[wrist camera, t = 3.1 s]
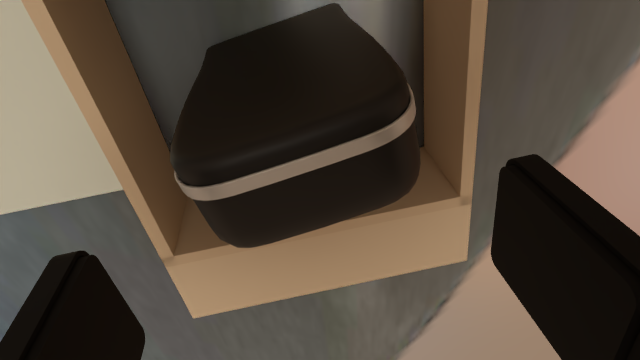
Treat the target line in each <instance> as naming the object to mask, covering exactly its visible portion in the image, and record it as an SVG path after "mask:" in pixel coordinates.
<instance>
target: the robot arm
mask: <svg viewBox="0 0 640 360" xmlns="http://www.w3.org/2000/svg"><path fill="white" fill-rule="evenodd" d="M491 257H492V260H493V263H494V265H495V266H496V268H497V269H498V270H499V272H500V273H501V275H502V276H503V278H504V279H505V281H506V282H507V284H508V285H509V286H510V288H511V289H512V291H513V292H514V293H515V295H516V296H517V297H518V299H519V300H520V302H521V303H522V305H523V306H524V307H525V309H526V310H527V312H528V313H529V314H530V315H531V317H532V319H533V320H534V321H535V323H536V324H537V326H538V327H539V328H540V330H541V331H542V333H543V334H544V335H545V337H546V338H547V340H548V341H549V343H550V344H551V345H552V347H553V348H554V349H555V351H556V352H557V354H558V355H559V356H560V358H561V359H562V360H640V236H639V235H637V234H636V233H635V232H634V231H632V230H631V229H630V228H629V227H627V226H626V225H625V224H624V223H622V222H621V221H620V220H619V219H617V218H616V217H615V216H614V215H612V214H611V213H610V212H609V211H607V210H606V209H605V208H604V207H602V206H601V205H600V204H599V203H597V202H596V201H595V200H594V199H593V198H591V197H590V196H589V195H588V194H586V193H585V192H584V191H582V190H581V189H580V188H579V187H578V186H576V185H575V184H574V183H573V182H571V181H570V180H569V179H568V178H566V177H565V176H564V175H563V174H561V173H560V172H559V171H558V170H556V169H555V168H554V167H553V166H551V165H550V164H549V163H548V162H546V161H545V160H544V159H543V158H541V157H540V156H538V155H536V154H532V155H528V156H523V157H518V158H513V159H510V160H508V162H507V163H506V167H503V168H501V170H500V173H499V182H498V192H497V201H496V210H495V219H494V228H493V237H492V246H491ZM144 344H145V333H144V330H143V328H142V326H141V325H140V323H139V321H138V320H137V318H136V317H135V315H134V314H133V312H132V311H131V309H130V307H129V306H128V304H127V303H126V301H125V300H124V298H123V297H122V295H121V294H120V292H119V290H118V289H117V287H116V286H115V284H114V283H113V281H112V280H111V278H110V276H109V275H108V273H107V272H106V270H105V269H104V267H103V266H102V264H101V262H100V261H99V259H98V258H97V257H96V256H94V255H89V254H88V253H87V252H85V251H76V252H71V253H67V254H62V255H57V256H55V257H53V258H52V259H51V260H50V261H49V263H48V265H47V266H46V268H45V269H44V271H43V273H42V274H41V276H40V278H39V279H38V281H37V283H36V284H35V286H34V288H33V289H32V291H31V293H30V294H29V296H28V297H27V299H26V301H25V302H24V304H23V306H22V307H21V309H20V311H19V312H18V314H17V316H16V317H15V319H14V321H13V322H12V324H11V326H10V327H9V329H8V330H7V332H6V334H5V335H4V337H3V339H2V340H1V342H0V360H141V356H142V352H143V349H144Z"/></svg>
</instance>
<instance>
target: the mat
mask: <svg viewBox="0 0 640 360" xmlns="http://www.w3.org/2000/svg"><path fill="white" fill-rule="evenodd" d="M119 190H124V189H123V188H122V186H121V184H120V182H119V180H118V178H117V176H116V175H115V173H114V171H113V169H112V167H111V165H110V164H109V162H108V160H107V158H106V156H105V154H104V152H103V151H102V149H101V147H100V145H99V143H98V141H97V140H96V138H95V136H94V134H93V132H92V130H91V128H90V127H89V125H88V123H87V121H86V119H85V117H84V116H83V114H82V112H81V110H80V108H79V106H78V104H77V103H76V101H75V99H74V97H73V95H72V93H71V92H70V90H69V88H68V86H67V84H66V82H65V80H64V79H63V77H62V75H61V73H60V71H59V69H58V68H57V66H56V64H55V62H54V60H53V58H52V56H51V55H50V53H49V51H48V49H47V47H46V45H45V44H44V42H43V40H42V38H41V36H40V34H39V32H38V31H37V29H36V27H35V25H34V23H33V21H32V20H31V18H30V16H29V14H28V12H27V10H26V8H25V7H24V5H23V3H22V1H21V0H0V215H1V214H6V213H11V212H15V211H20V210H25V209H30V208H35V207H40V206H45V205H50V204H55V203H60V202H65V201H70V200H75V199H80V198H84V197H89V196H94V195H99V194H104V193H109V192H114V191H119Z"/></svg>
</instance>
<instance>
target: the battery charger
mask: <svg viewBox="0 0 640 360" xmlns="http://www.w3.org/2000/svg"><path fill="white" fill-rule="evenodd" d="M415 115H416V106H415V100H414V95H413V92H412V90H411V88H410V86H409V84H408V83H407V81H406V78H405V76H404V73H403V71H402V70H401V69H400V67H399V66H398V65H397V63H396V62H395V61H394V60H393V59H392V57H391V56H390V55H389V54H388V53H387V52H386V50H385V49H384V48H383V47H382V46H381V45H380V44H379V43H378V42H377V41H376V40H375V39H374V38H373V37H372V36H371V35H369V34H368V33H367V32H366V31H365V30H364V29H363V28H361V27H360V26H359V25H358V24H356V23H355V22H354V21H352V20H351V19H350V18H349V17H348V16H347V14H346V13H345V12H344V11H343V9H342V8H341V6H340V5H339V4H336V3H333V4H329V5H326V6H323V7H320V8H317V9H315V10H312V11H309V12H306V13H303V14H300V15H297V16H294V17H292V18H289V19H286V20H283V21H280V22H277V23H275V24H272V25H269V26H266V27H263V28H260V29H258V30H255V31H252V32H249V33H247V34H244V35H241V36H238V37H235V38H233V39H230V40H227V41H224V42H222V43H219V44H216V45H213V46H211V47H209V48H208V49H207V51H206V55H205V59H204V61H203V65H202V67H201V70H200V72H199V74H198V76H197V78H196V80H195V82H194V85H193V87H192V89H191V91H190V93H189V95H188V98H187V100H186V102H185V105H184V107H183V110H182V112H181V115H180V118H179V121H178V124H177V127H176V130H175V133H174V136H173V140H172V143H171V149H170V162H171V165H172V167H173V169H174V176H175V179H176V182H177V183H178V185H179V186H180V188H181V189H182V191H183V192H184V193H185V194H186V195H187V196H188V197H190V198H191V199H193V201H194V202H195V204H196V205H197V207H198V209H199V210H200V212H201V213H202V215H203V216H204V218H205V220H206V221H207V223H208V224H209V226H210V227H211V229H212V230H213V231H214V233H215V234H216V235H217V236H218V237H219V239H220V240H222V241H224V242H226V243H228V244H230V245H233V246H235V247H237V248H253V247H258V246H263V245H267V244H271V243H274V242H278V241H281V240H284V239H287V238H291V237H294V236H297V235H301V234H304V233H307V232H310V231H314V230H317V229H320V228H324V227H327V226H330V225H333V224H335V223H338V222H341V221H344V220H347V219H350V218H353V217H356V216H359V215H362V214H365V213H368V212H371V211H374V210H377V209H380V208H382V207H385V206H387V205H389V204H392V203H394V202H396V201H398V200H399V199H400V198H402V197H403V196H405V195H406V194H408V193H409V192H410V190H411V189H412V188H413V186H414V185H415V183H416V181H417V178H418V176H419V171H420V164H421V162H420V148H419V142H418V137H417V131H416V126H415V120H414V118H415Z"/></svg>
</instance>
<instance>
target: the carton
mask: <svg viewBox="0 0 640 360" xmlns="http://www.w3.org/2000/svg"><path fill="white" fill-rule="evenodd" d="M21 1H22V3H23V5H24V7H25V8H26V10H27V12H28V14H29V16H30V18H31V20H32V21H33V23H34V25H35V27H36V29H37V31H38V32H39V34H40V36H41V38H42V40H43V42H44V44H45V45H46V47H47V49H48V51H49V53H50V55H51V56H52V58H53V60H54V62H55V64H56V66H57V68H58V69H59V71H60V73H61V75H62V77H63V79H64V80H65V82H66V84H67V86H68V88H69V90H70V92H71V93H72V95H73V97H74V99H75V101H76V103H77V104H78V106H79V108H80V110H81V112H82V114H83V116H84V117H85V119H86V121H87V123H88V125H89V127H90V128H91V130H92V132H93V134H94V136H95V138H96V140H97V141H98V143H99V145H100V147H101V149H102V151H103V152H104V154H105V156H106V158H107V160H108V162H109V164H110V165H111V167H112V169H113V171H114V173H115V175H116V176H117V178H118V180H119V182H120V184H121V186H122V188H123V189H124V191H125V193H126V195H127V197H128V199H129V201H130V202H131V204H132V206H133V208H134V210H135V212H136V213H137V215H138V217H139V219H140V221H141V223H142V225H143V226H144V228H145V230H146V232H147V234H148V236H149V237H150V239H151V241H152V243H153V245H154V247H155V249H156V250H157V252H158V254H159V256H160V258H161V260H162V261H163V263H164V265H165V267H166V269H167V271H168V273H169V274H170V276H171V278H172V280H173V282H174V284H175V285H176V287H177V289H178V291H179V293H180V295H181V297H182V298H183V300H184V302H185V304H186V306H187V308H188V309H189V311H190V313H191V315H192V317H193V318H198V317H202V316H207V315H212V314H216V313H221V312H226V311H231V310H235V309H240V308H245V307H249V306H254V305H259V304H264V303H268V302H273V301H278V300H283V299H287V298H292V297H297V296H301V295H306V294H311V293H316V292H320V291H325V290H330V289H335V288H339V287H344V286H349V285H353V284H358V283H363V282H368V281H372V280H377V279H382V278H386V277H391V276H396V275H401V274H405V273H410V272H415V271H420V270H424V269H429V268H434V267H438V266H443V265H448V264H453V263H457V262H462V261H467V252H468V240H469V228H470V216H471V203H472V191H473V179H474V167H475V154H476V142H477V130H478V118H479V105H480V93H481V81H482V69H483V56H484V44H485V32H486V20H487V8H488V0H423V1H424V147H421V148H420V162H421V164H420V171H419V176H418V178H417V181H416V183H415V185H414V186H413V188H412V189H411V190H410V192H409V193H408V194H406V195H405V196H403V197H402V198H400V199H399V200H398V201H396V202H394V203H392V204H389V205H387V206H385V207H382V208H380V209H377V210H374V211H371V212H368V213H365V214H362V215H359V216H356V217H353V218H350V219H347V220H344V221H341V222H338V223H335V224H333V225H330V226H327V227H324V228H320V229H317V230H314V231H310V232H307V233H304V234H301V235H297V236H294V237H291V238H287V239H284V240H281V241H278V242H274V243H271V244H267V245H263V246H258V247H253V248H237V247H235V246H233V245H230V244H228V243H226V242H224V241H222V240H220V239H219V237H218V236H217V235H216V234H215V233H214V231H213V230H212V229H211V227H210V226H209V224H208V223H207V221H206V220H205V218H204V216H203V215H202V213H201V212H200V210H199V209H198V207H197V205H196V204H195V202H194V201H193V199H191V198H190V197H188V196H187V195H186V194H185V193H184V192H183V191H182V189H181V188H180V186H179V185H178V183H177V182H176V179H175V176H174V169H173V167H172V165H171V162H170V151H169V149H168V147H167V144H166V142H165V140H164V137H163V135H162V133H161V130H160V128H159V126H158V123H157V121H156V119H155V117H154V114H153V112H152V110H151V107H150V105H149V103H148V100H147V98H146V96H145V93H144V91H143V89H142V86H141V84H140V82H139V79H138V77H137V75H136V72H135V70H134V68H133V65H132V63H131V61H130V58H129V56H128V54H127V51H126V49H125V47H124V44H123V42H122V40H121V37H120V35H119V33H118V31H117V28H116V26H115V24H114V21H113V19H112V17H111V14H110V12H109V10H108V7H107V5H106V3H105V0H21Z"/></svg>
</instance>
